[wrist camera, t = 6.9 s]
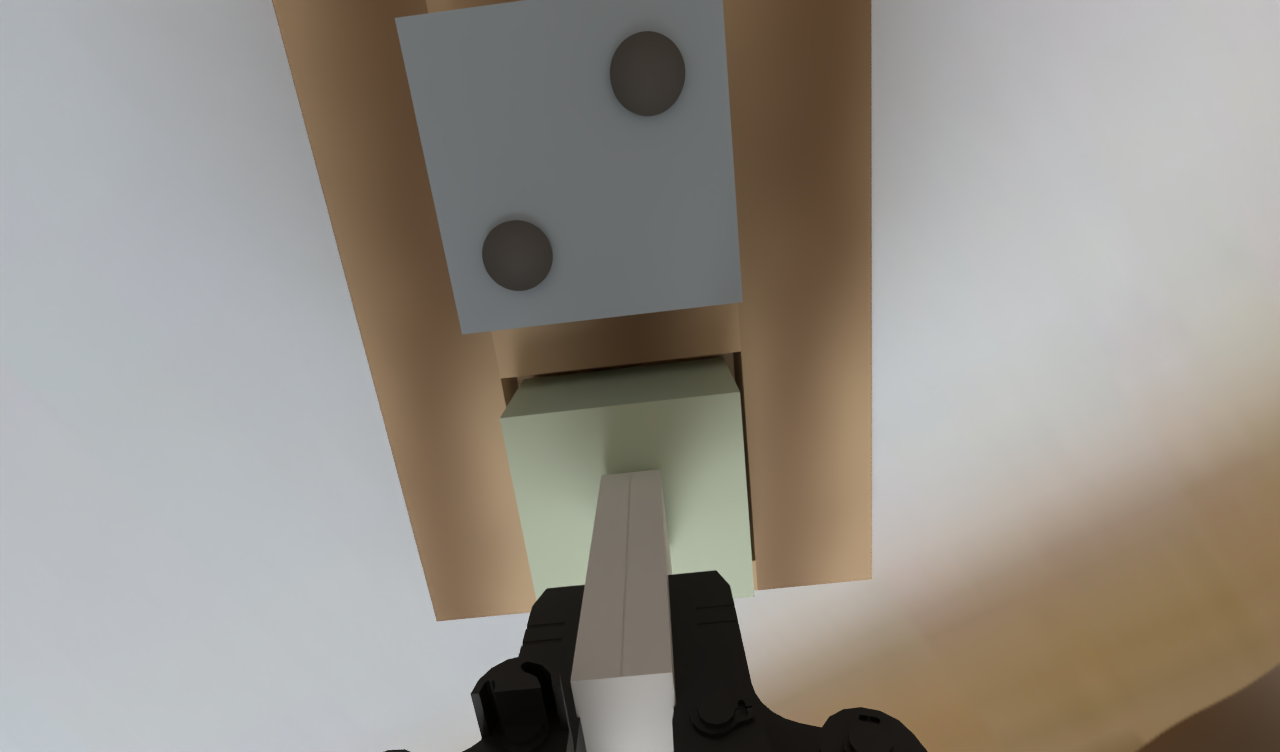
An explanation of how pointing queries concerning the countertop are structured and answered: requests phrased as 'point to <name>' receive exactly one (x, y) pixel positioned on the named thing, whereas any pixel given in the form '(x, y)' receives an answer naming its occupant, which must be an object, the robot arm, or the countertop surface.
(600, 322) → the tile board
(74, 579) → the countertop surface
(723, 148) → the tile two
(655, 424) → the tile one
